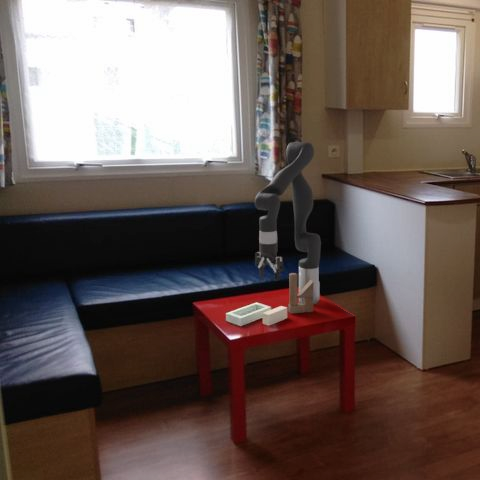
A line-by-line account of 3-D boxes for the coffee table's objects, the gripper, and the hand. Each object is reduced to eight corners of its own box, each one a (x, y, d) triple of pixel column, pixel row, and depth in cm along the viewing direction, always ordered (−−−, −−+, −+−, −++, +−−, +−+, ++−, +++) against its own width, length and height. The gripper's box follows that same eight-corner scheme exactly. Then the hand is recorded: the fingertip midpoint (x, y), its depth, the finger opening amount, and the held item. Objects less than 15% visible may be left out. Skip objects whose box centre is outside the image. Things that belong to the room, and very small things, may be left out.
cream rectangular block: (281, 316, 235) (281, 305, 234) (287, 318, 232) (287, 307, 231) (262, 324, 226) (262, 313, 225) (268, 326, 224) (268, 314, 223)
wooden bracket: (313, 312, 239) (313, 273, 235) (290, 314, 237) (290, 275, 233) (310, 309, 242) (310, 271, 238) (288, 311, 240) (287, 273, 236)
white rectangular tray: (256, 309, 243) (256, 302, 242) (271, 314, 237) (271, 306, 236) (226, 320, 230) (225, 313, 230) (240, 326, 224) (240, 318, 223)
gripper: (287, 241, 218) (287, 279, 222) (262, 237, 228) (263, 273, 232) (274, 245, 213) (275, 284, 217) (249, 240, 223) (251, 277, 227)
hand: (269, 278), depth 224 cm, fingers open, 8 cm apart
